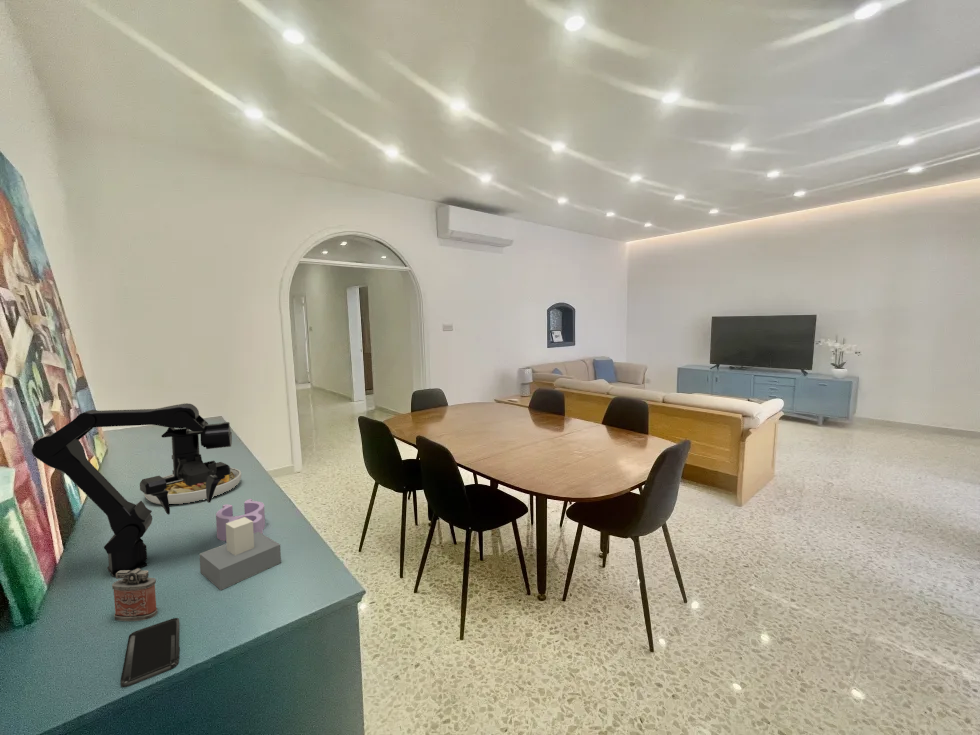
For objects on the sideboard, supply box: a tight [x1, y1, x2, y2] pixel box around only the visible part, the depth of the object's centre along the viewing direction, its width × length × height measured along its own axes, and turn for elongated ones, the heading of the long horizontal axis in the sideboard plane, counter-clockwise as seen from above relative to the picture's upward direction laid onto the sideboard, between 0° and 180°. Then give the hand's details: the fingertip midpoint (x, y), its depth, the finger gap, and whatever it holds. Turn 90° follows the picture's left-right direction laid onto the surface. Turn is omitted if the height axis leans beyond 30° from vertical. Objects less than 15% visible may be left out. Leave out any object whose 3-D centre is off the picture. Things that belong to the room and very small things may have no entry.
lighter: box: [111, 568, 159, 622], centre depth 84 cm, size 8×3×10 cm, turn 92°
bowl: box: [143, 467, 242, 505], centre depth 153 cm, size 30×30×8 cm
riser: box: [199, 532, 282, 591], centre depth 102 cm, size 14×12×5 cm
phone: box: [120, 617, 181, 688], centre depth 75 cm, size 8×1×15 cm
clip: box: [215, 498, 266, 542], centre depth 120 cm, size 20×12×7 cm, turn 39°
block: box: [225, 517, 254, 555], centre depth 102 cm, size 4×4×7 cm
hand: (189, 507), depth 108 cm, fingers open, 9 cm apart
